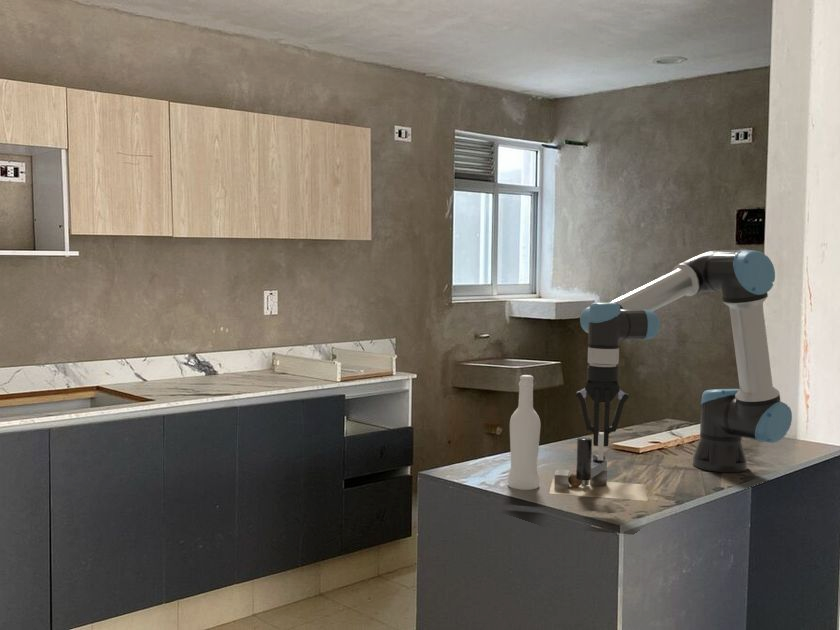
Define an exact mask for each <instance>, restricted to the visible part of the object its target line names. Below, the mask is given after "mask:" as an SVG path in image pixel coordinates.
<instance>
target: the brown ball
mask: <svg viewBox="0 0 840 630" xmlns="http://www.w3.org/2000/svg"><path fill="white" fill-rule="evenodd" d="M568 481H569V484H570V485H571V486H573V487H578V486H580V485H581V484H582V480H579V479H576V472H573V473H571V474H569V478H568Z"/></svg>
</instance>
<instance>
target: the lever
mask: <svg viewBox="0 0 840 630" xmlns="http://www.w3.org/2000/svg"><path fill="white" fill-rule="evenodd" d="M576 440H577V442H576V443H577V444H576V449H577V450H576V472H575V473H576V479H579V480H582V487H585V486H587V485H589V481H590V479H591V478H592V477H594V476H596V475H598V474H599V473H601V472H603V471H604V470H606V471H607V470H608V469H607V468H608V460H607V459H606V455H605V454H603V460H598V453H594V454H592V451H593V450H592V449H593V448H592V447H593V438H590V437H578V438H577V439H576Z"/></svg>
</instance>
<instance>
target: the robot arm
mask: <svg viewBox="0 0 840 630" xmlns="http://www.w3.org/2000/svg"><path fill="white" fill-rule="evenodd" d="M775 280H776V272H775V267H774V264H773V262H772V260H771V259H770V257H768V256H767V254H765V253H764V252H762V251H759V250H752V249H748V248H747V249H713V250H708V251H706V252H703V253H700V254H698V255H695V256H693V257H691V258H689V259H687V260H685V261H683V262H680V263H678V264H676V265H675V266H674V267H673V269H672V270H671V271H670V272H668V273H666V274H665V275H662V276H660V277H657V278H656V279H654V280H652V281H650V282H648V283H646V284H644V285H641V286H639V287H638V288H635V289H634V290H632V291H629V292H627V293H626V294H624V295H621V296H619V297H617V298H615V299H613V300H611V301H609V302H602V301H601V302H600V301H599V302H597V301H596V302H593V303H591V304H590V306H588V307H586V308H584V309H583V311H582V313H581V314H580V319H579V322H580V327H581V328H582V330H583V331H584V332H585V333H587V334H588V335H587V339H588V343H587V345H588V347H587V363H588V366H587V367H586V368H587V369H586V370H587V372H586V373H587V375H586V376H587V377H586V384H585V385H584V388H582V389H580V390H578V391H576V395H575V396H576V397H577V399H578V400H579V402H580V405H581V411H582V416H583V420H584V424H585V429H586V430H587V431H590V432H592V434H593V437H592V445H593V446H594V447H597V454H598V460H603V455H604V447H608V446H609V441H610V438H609V437H610V433H614V432H616V431H617V429H618V426H619V422H620V419H621V415H622V411H623V408H624V405H625V403H626V402H627V400H628V399H629V394H628V392H624V391H623V390H622V389H621V387H620V385H619V367H618V366H617V365H618V364H619V361H620V360H619V359H620V358H619V357H620V341H625V340H626V341H630V340H631V341H638V340H640V341H645V340H651V339H653V338H655V337H656V336H657V335H658V333H659V332H660V331H659V330H660V320H659V317H658V315H657V314H656V312H654V311H656V310H659V309H661V308H662V307H665V306H667V305H668V304H671V303H672V302H675V301H677V300H678V299H680V298H681V299H682V298H683V297H684V296H687V297H692V296H695V295H696V294H699V293H704V292H705V293H706V292H717V293H721V300H722V303H723V304H724V305H726V306H728V308H729V315H730V321H731V322H730V323H731V331H732V337H733V338H732V339H733V344H734V346H733V347H734V352H735V361H736V369H737V376H738V386H739V388H719V389H718V388H716V389H707V390H704V391H703V392H702V395H701V402H700V422H699V423H700V425H699V427H700V429H699V432H700V433H699V441H698V442H697V446H696V448H695V451H694V453H693V456H692V465H693V466H694V467H696V468H698V469H700V470H704V471H705V470H706V471H711V472H718V473H741V472H746V471H747V470H748V461H747V457H746V454H745V449H744V446H743V442H742V441H743V440H742V439H743V438H745V439H748V440H749V439H750V440H754V441H757V442H759V443H768V444H776V443H777V442H780V441H781V440H783V438H785V436H786V435H787V433H788V432H789V430H790V428H791V425H792V422H793V421H792V420H793V413H792V410H791V408H790V406H788V405H789V404H787V403H785V402H783V401H781V396H780V395H781V394H780V391H779V389H777V388H775V386H773V377H772V370H771V361H770V360H771V359H770V353H769V345H768V344H769V343H768V336H767V329H766V321H765V320H766V319H765V313H764V305H763V304H764V302H765V301H766V299H767V298H768V297H769V294H768V292H770V291H771V290H772V288H773V286H774V283H775ZM587 395H588V396H589V397H590V399H591V400H592V401H593V402H594V403H593V425H592V424H591V420H590V419H591V417H590V415H589V414H590V413H589V410H588V405H587V401H586V398H587ZM617 395H618V396H617ZM616 396H617V399H618V403H617V405H616V410H615V413H614V416H613V420H612V423H611V426H610V407H611V404H610V402H612V401H613V400H614V399H615V397H616ZM600 403H604V413H603V431H602V432H601V431H599V430H600V429H599V428H600V426H599V424H600V423H599V422H600Z"/></svg>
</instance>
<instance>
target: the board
mask: <svg viewBox="0 0 840 630" xmlns="http://www.w3.org/2000/svg"><path fill="white" fill-rule="evenodd" d="M569 476H570V470H569V469H555V472H554V477H552V479H551V484H550V488H549V492H548V493H549V495H563V496H575V497H591V498H601V499H602V498H603V499H614V500H615V499H616V500H617V499H618V500H629V501H631V500H632V501H643V502H648V501H649V499H648V495H647V489H646V485H645V484H644V483H643V484H642V483H629V482H616V481H615V482H614V481H608V470H607V469H606V470H604V471H603V472H601V473H599V474H598V475H596V476H594V477H592V478H591V479H590V480H589V485H587V486H585V487H582V484H581V485H580V486H578V487H573V486H571V485H570V484H569V481H568V478H569Z"/></svg>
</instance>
